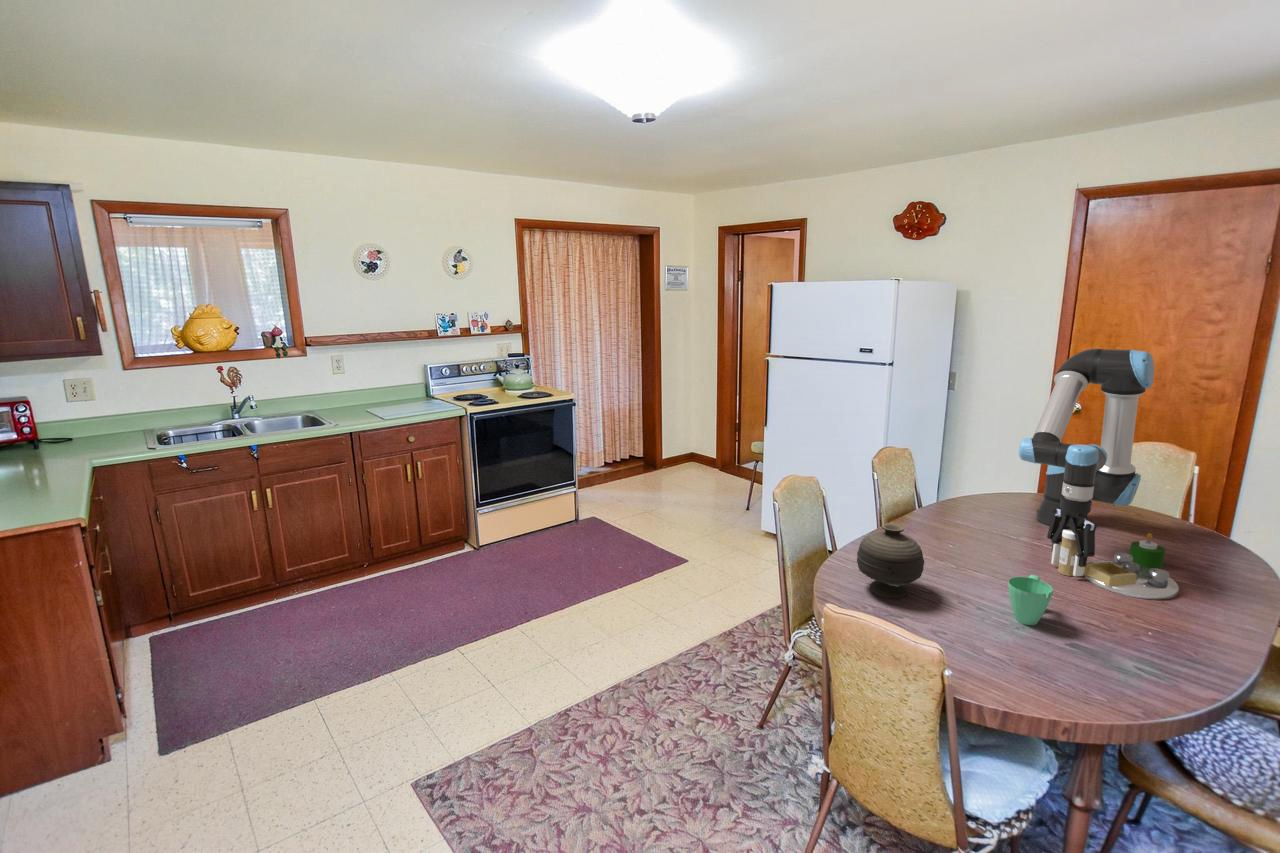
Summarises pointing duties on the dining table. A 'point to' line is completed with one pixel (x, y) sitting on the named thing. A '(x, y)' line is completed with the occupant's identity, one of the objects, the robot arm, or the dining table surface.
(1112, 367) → the robot arm
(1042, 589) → the mug
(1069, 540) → the sprinkles bottle
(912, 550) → the pot
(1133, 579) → the carrier
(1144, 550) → the candle
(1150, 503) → the dining table surface
